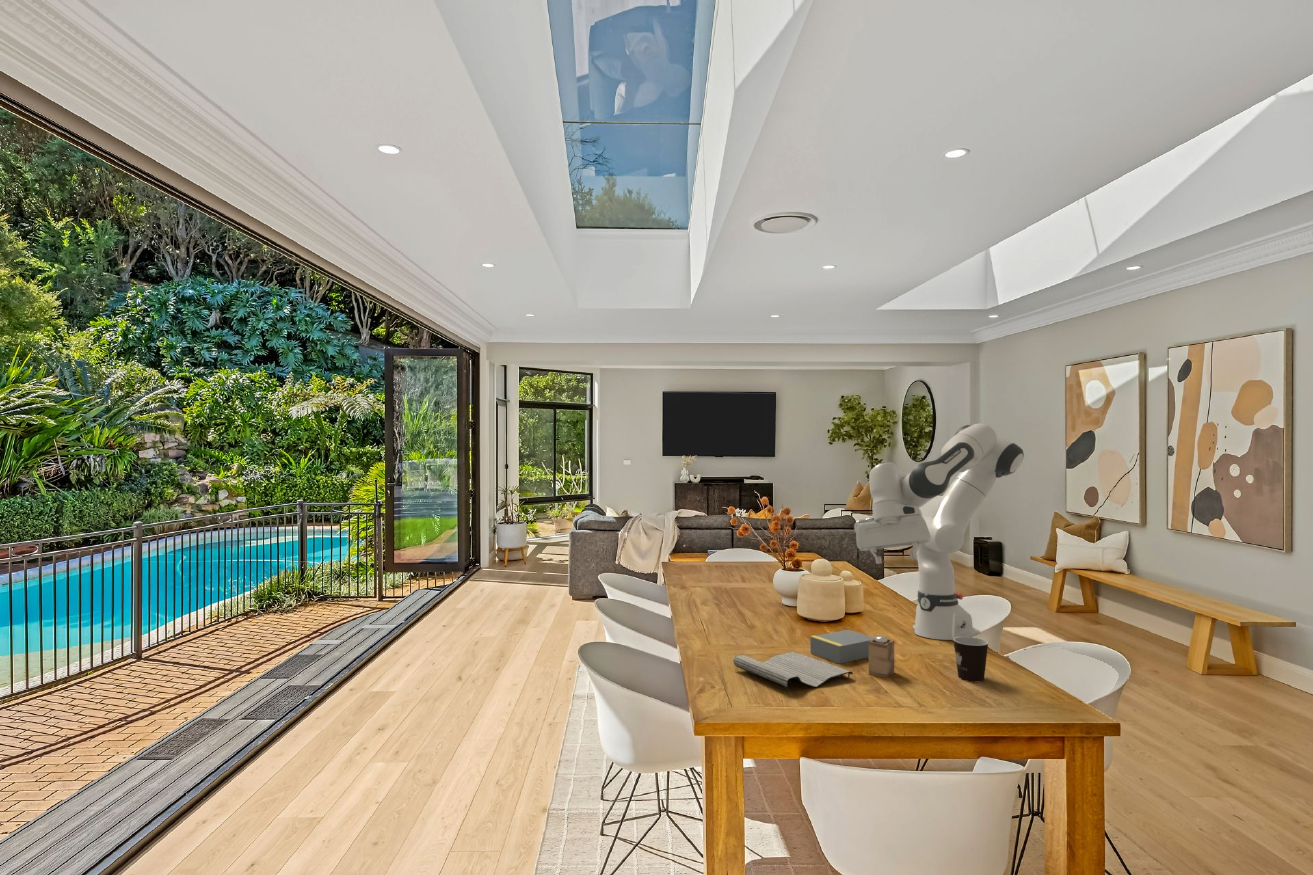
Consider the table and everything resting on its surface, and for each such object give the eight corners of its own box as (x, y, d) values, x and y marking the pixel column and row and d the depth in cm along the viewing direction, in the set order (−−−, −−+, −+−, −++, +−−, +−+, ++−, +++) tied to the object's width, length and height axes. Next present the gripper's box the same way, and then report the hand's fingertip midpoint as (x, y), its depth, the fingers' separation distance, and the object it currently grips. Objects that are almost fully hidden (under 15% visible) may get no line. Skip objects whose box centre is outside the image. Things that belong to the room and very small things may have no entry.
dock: (848, 645, 215) (848, 628, 215) (878, 655, 204) (877, 637, 204) (810, 653, 207) (810, 636, 207) (839, 663, 196) (839, 645, 196)
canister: (880, 642, 190) (880, 635, 190) (889, 645, 187) (889, 637, 187) (872, 643, 189) (872, 636, 189) (881, 646, 186) (881, 639, 186)
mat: (854, 680, 183) (853, 663, 183) (787, 697, 171) (786, 678, 171) (796, 658, 203) (795, 642, 203) (732, 671, 191) (732, 654, 191)
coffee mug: (990, 684, 178) (990, 646, 178) (955, 681, 181) (954, 643, 181) (984, 671, 189) (984, 635, 190) (951, 668, 192) (950, 632, 192)
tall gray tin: (876, 668, 192) (876, 637, 192) (894, 672, 189) (894, 640, 189) (868, 674, 187) (868, 641, 187) (886, 678, 184) (886, 644, 184)
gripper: (850, 517, 199) (856, 562, 193) (924, 506, 191) (932, 554, 184) (855, 523, 204) (861, 568, 198) (927, 513, 195) (935, 560, 189)
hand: (896, 561), depth 191 cm, fingers open, 8 cm apart
